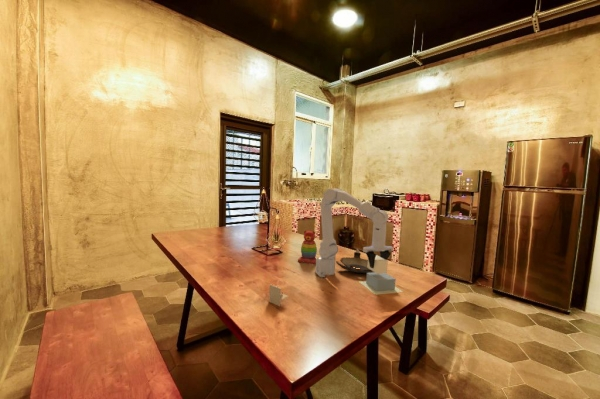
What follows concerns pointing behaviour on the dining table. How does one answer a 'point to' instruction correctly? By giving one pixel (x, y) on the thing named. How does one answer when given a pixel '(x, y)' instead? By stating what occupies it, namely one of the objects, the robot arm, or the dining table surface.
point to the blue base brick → (380, 281)
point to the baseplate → (380, 291)
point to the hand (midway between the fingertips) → (377, 267)
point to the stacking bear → (308, 248)
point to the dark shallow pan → (355, 263)
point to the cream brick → (379, 265)
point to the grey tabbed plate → (276, 295)
